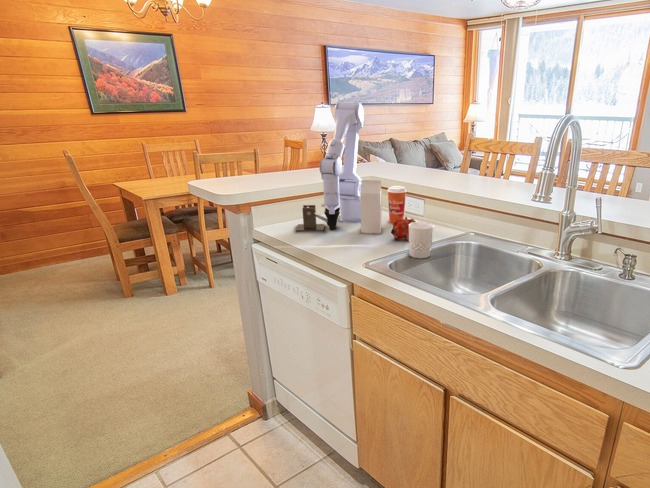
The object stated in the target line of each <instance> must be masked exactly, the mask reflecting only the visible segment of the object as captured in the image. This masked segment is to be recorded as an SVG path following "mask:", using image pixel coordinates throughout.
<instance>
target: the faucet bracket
mask: <svg viewBox="0 0 650 488" xmlns="http://www.w3.org/2000/svg"><path fill="white" fill-rule="evenodd" d="M302 206H303V207H302V208H301V209H302V221H303V222H302V223H300V224H297V225H296V229H295V232H296V233H302V232H303V233H305V232H306V233H307V232H308V233H309V232H312V233H315V232H317V233H318V232H324V229H325V224H324V223H317V217H316V216H315V213H317V211H316V210H317V209H316V204H303V205H302ZM307 206H308V207H310V208H307Z"/></svg>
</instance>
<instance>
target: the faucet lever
mask: <svg viewBox="0 0 650 488" xmlns="http://www.w3.org/2000/svg"><path fill="white" fill-rule="evenodd" d="M307 208H310V207H308V206H307ZM315 216H316V218H318V219H319V220H321V221H323V222H325V223H326V225H327V227H329V223H328V220H327V217H325V216H322V215H320V214H319V213H317V212H316V213H315Z"/></svg>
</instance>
